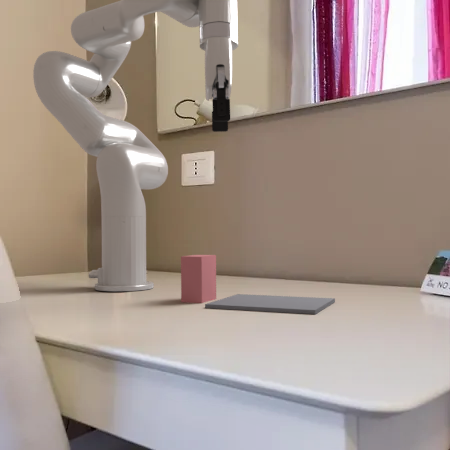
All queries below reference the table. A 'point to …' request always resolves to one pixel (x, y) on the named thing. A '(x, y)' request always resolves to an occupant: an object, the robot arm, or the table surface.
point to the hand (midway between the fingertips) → (220, 126)
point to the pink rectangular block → (198, 278)
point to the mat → (272, 303)
